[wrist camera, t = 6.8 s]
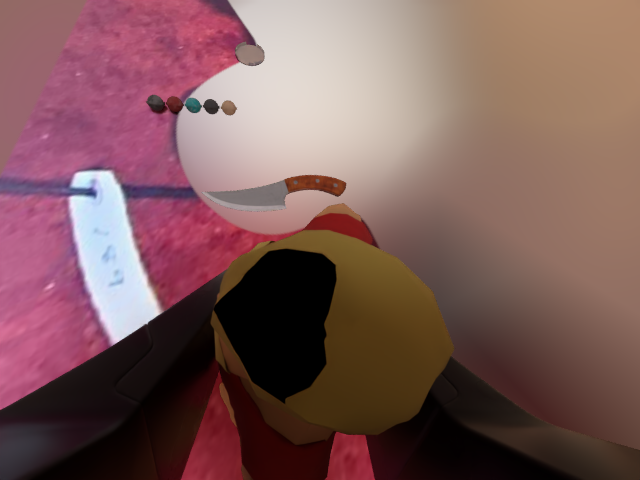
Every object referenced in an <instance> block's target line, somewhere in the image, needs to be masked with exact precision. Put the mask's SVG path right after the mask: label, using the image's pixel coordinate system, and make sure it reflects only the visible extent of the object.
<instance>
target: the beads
mask: <svg viewBox="0 0 640 480" xmlns="http://www.w3.org/2000/svg"><path fill="white" fill-rule="evenodd" d="M146 102H147V104H148V105H149V106H150V107H151V108H152V109H153V110H156V111H159V110H162V109H163V107H164V105H165V102H163V100H162V99H161V98H160V97H159V96H157V95H151V96H149V97H148V100H147V101H146ZM166 105H168V107H169V108H170V109H171V110H172V111H174V112H179V111H181V110H182V108H183V106H184V104H182V102H181V100H180V99H179V98H177V97H174V96H172V97H169V98H168V100H167V102H166ZM185 106H186V107H187V109H188V110H189V111H190V112H192V113H197V112H199V111H200V109H201V107H202V106H201V105H200V103H199V101H198V100H197V99H195V98H189V99H187V101H186V104H185ZM203 107H204V108H205V110H206V111H207V112H208V113H209V114H215V113H217V111H218V108H219V106H218V104H217V103H216V102H215V101H214V100H212V99H208V100H206V101H205V103H204V105H203ZM221 109H222V110H223V112H224V113H225V114H227V115H233V114H234V113H235V111H236V109H237V108H236V107H235V105H234V103H233V102H231V101H225V102H224V103H223V104H222V107H221Z"/></svg>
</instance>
